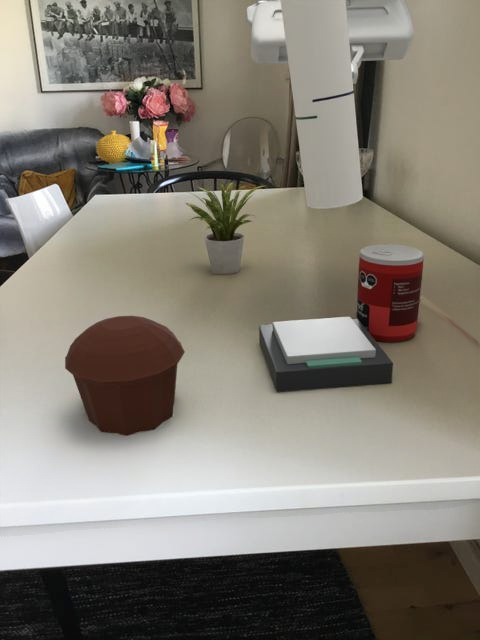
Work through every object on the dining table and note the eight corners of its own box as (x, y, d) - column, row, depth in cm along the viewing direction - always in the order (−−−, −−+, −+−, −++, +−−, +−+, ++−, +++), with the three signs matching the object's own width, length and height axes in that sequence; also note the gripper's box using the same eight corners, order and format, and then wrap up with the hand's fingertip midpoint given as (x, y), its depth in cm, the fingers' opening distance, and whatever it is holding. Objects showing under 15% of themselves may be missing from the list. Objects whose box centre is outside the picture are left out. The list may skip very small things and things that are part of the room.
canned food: (360, 317, 81) (365, 242, 76) (419, 323, 78) (426, 246, 74) (350, 338, 74) (354, 257, 70) (413, 346, 71) (421, 262, 67)
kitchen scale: (356, 335, 75) (357, 311, 74) (391, 382, 63) (393, 354, 62) (259, 343, 74) (258, 318, 72) (276, 392, 62) (276, 363, 60)
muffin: (190, 383, 64) (185, 300, 60) (186, 439, 54) (179, 344, 50) (85, 387, 64) (73, 305, 60) (61, 445, 54) (44, 350, 50)
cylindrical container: (361, 204, 69) (340, -33, 58) (303, 211, 71) (273, -17, 60) (364, 190, 75) (345, -26, 65) (310, 197, 77) (284, -12, 67)
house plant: (251, 254, 113) (249, 170, 107) (282, 272, 101) (282, 179, 95) (182, 263, 108) (176, 176, 102) (206, 284, 96) (201, 187, 90)
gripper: (245, -21, 71) (251, 62, 66) (407, -26, 71) (426, 56, 66) (244, 23, 77) (250, 102, 71) (394, 18, 77) (411, 97, 72)
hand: (336, 80), depth 69 cm, fingers closed on cylindrical container, 2 cm apart
